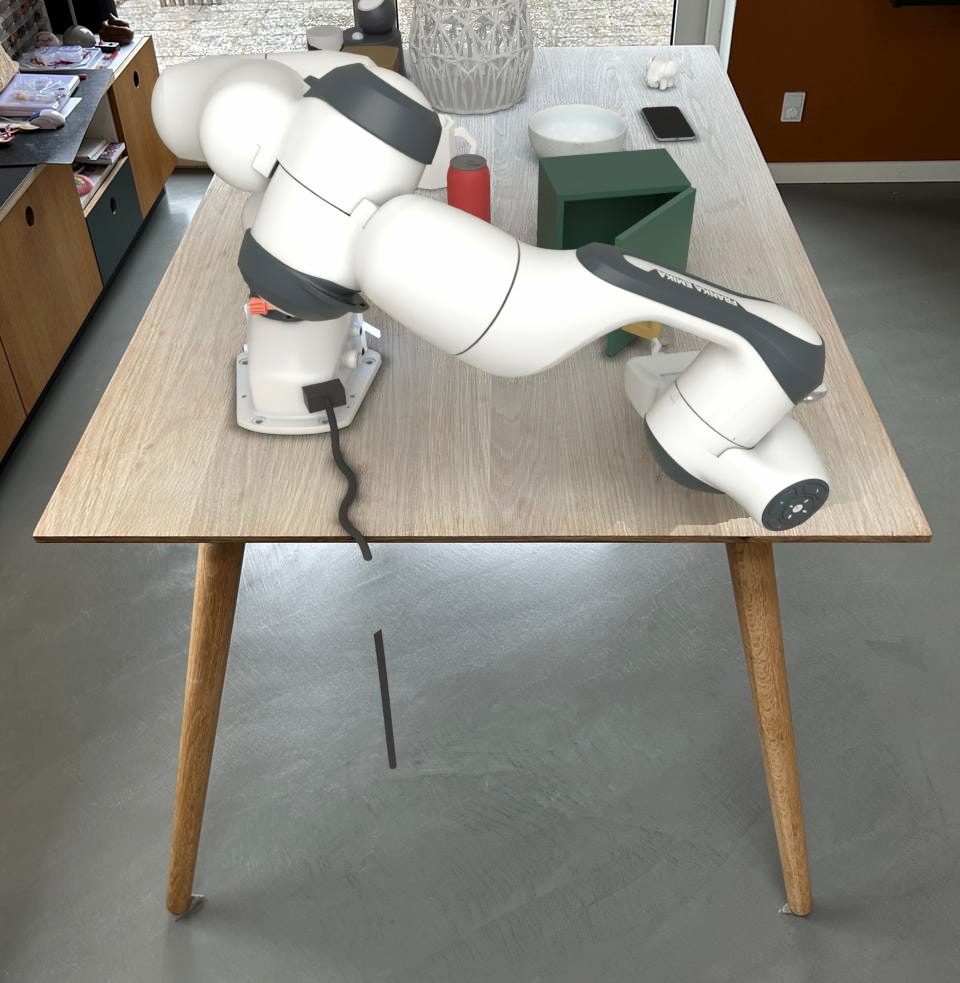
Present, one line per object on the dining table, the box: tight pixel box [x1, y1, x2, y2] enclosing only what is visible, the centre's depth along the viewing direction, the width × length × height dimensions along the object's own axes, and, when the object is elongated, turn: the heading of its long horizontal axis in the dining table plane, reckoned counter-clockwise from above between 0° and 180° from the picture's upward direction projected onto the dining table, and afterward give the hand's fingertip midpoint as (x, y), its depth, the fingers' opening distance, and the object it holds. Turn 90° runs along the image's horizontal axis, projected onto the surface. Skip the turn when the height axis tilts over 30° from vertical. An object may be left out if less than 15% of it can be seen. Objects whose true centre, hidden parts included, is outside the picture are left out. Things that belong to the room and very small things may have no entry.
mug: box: [417, 113, 479, 191], centre depth 176 cm, size 12×9×10 cm
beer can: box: [446, 153, 492, 225], centre depth 159 cm, size 7×7×12 cm
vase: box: [408, 0, 535, 115], centre depth 199 cm, size 24×24×30 cm
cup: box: [305, 25, 344, 52], centre depth 198 cm, size 7×7×15 cm
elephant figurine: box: [645, 54, 679, 91], centre depth 209 cm, size 7×8×6 cm
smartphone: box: [640, 105, 696, 142], centre depth 195 cm, size 7×1×15 cm
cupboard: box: [536, 147, 692, 250], centre depth 146 cm, size 12×18×17 cm, turn 99°
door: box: [605, 186, 697, 358], centre depth 135 cm, size 6×18×17 cm, turn 142°
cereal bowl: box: [527, 103, 628, 158], centre depth 182 cm, size 17×17×7 cm
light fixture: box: [343, 0, 407, 79], centre depth 211 cm, size 13×16×14 cm
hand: (697, 338), depth 119 cm, fingers open, 8 cm apart
